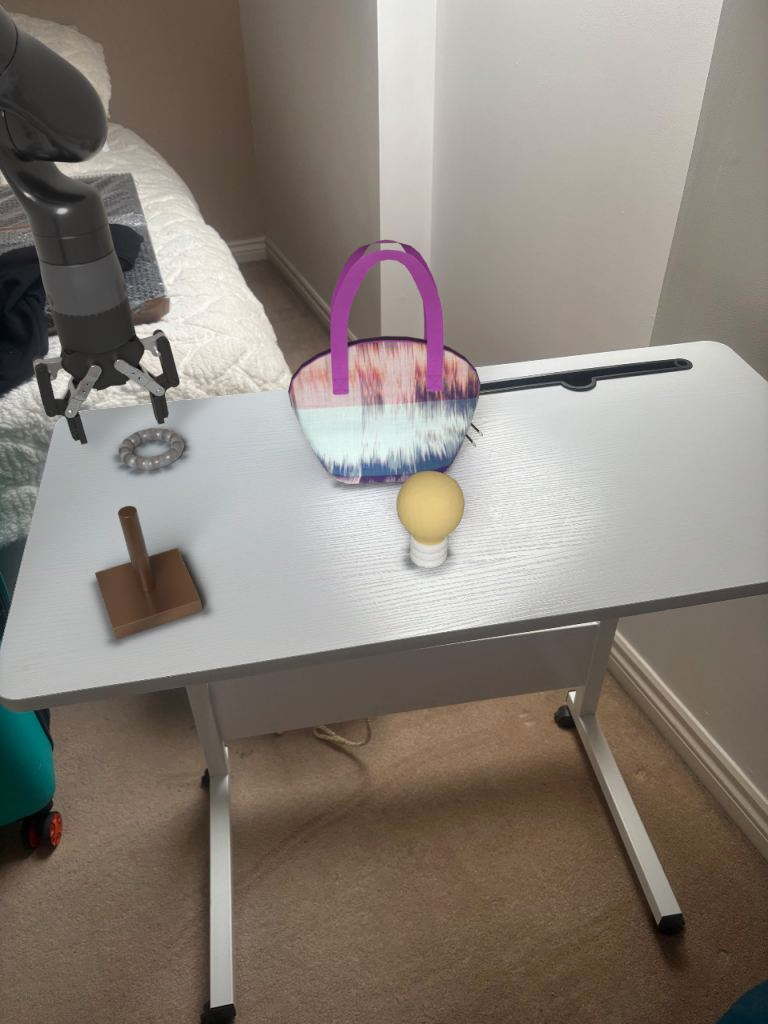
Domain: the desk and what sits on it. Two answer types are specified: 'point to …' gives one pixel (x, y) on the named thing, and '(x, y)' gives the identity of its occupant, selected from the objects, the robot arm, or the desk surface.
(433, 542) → the light bulb
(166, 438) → the grey beaded ring
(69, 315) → the robot arm
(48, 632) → the desk surface
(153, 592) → the stand
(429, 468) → the handbag
